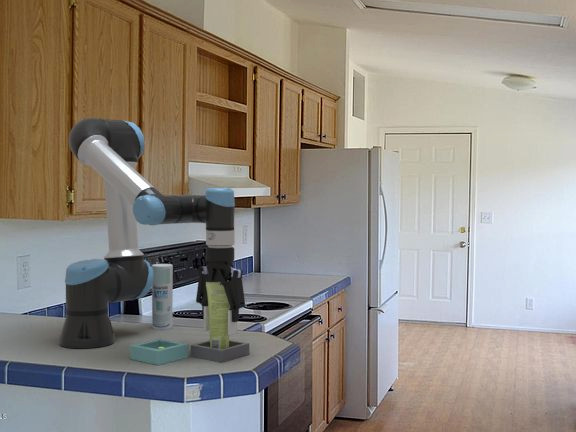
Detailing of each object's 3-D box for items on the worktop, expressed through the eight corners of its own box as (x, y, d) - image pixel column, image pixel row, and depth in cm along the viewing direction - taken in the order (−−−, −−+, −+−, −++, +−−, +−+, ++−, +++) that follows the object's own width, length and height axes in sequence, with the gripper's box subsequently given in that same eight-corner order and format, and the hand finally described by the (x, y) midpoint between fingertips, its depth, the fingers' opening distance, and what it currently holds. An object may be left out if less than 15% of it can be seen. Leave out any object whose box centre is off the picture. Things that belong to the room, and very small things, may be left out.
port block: (130, 359, 186) (130, 343, 186) (160, 351, 194) (160, 336, 194) (158, 365, 180) (158, 348, 180) (187, 357, 188) (187, 341, 188)
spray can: (174, 326, 230) (174, 263, 229) (170, 330, 223) (170, 266, 222) (154, 325, 230) (154, 263, 229) (149, 330, 223) (149, 266, 223)
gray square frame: (190, 356, 189) (190, 344, 189) (218, 348, 198) (218, 337, 198) (221, 362, 183) (221, 350, 183) (249, 354, 192) (249, 343, 191)
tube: (221, 351, 194) (221, 280, 194) (234, 354, 191) (234, 281, 190) (205, 355, 190) (205, 282, 189) (218, 358, 187) (218, 284, 186)
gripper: (181, 245, 192) (182, 329, 193) (240, 249, 180) (240, 339, 181) (201, 243, 198) (201, 325, 199) (259, 247, 186) (259, 334, 187)
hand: (220, 331), depth 190 cm, fingers open, 8 cm apart
